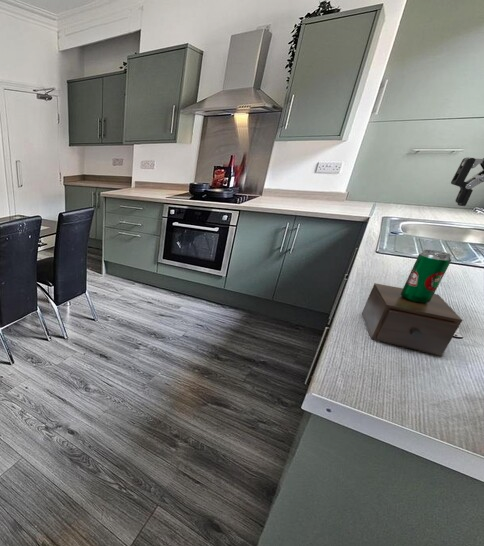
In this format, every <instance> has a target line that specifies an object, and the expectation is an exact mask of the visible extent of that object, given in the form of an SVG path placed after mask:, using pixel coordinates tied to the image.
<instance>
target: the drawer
mask: <svg viewBox="0 0 484 546" xmlns="http://www.w3.org/2000/svg"><path fill="white" fill-rule="evenodd" d="M457 327H458V324H457V323H454V322H449V321H448V320H443V319H438V318H433V317H429V316H424V315H419V314H414V313H409V312H404V311H400V310H395V309H389V310H388V312H387V314H386V316H385V318H384V320H383V322H382V325H381V327H380V329H379V331H378V333H377V335H376V338H377V339H379V340H383V341H387V342H391V343H395V344H399V345H403V346H407V347H411V348H415V349H419V350H423V351H427V352H431V353H435V354H439V355H442V353H443V351H444V350H445V351H446V349H447V348H446V346H447V344H448V343H449V341H450V339H451V338H452V339H453V337H454V336H453V334H454V332H455V331H456V332H457V330H458V329H457ZM458 328H459V327H458ZM456 329H457V330H456ZM456 332H455V333H456ZM454 335H455V334H454ZM452 336H453V337H452ZM452 339H451V340H452ZM450 342H451V341H450ZM449 344H450V343H449ZM449 344H448V345H449ZM447 347H448V346H447ZM445 348H446V349H445ZM445 351H444V352H445ZM443 354H444V353H443ZM442 356H443V355H442Z"/></svg>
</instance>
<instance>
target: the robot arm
mask: <svg viewBox="0 0 484 546" xmlns="http://www.w3.org/2000/svg"><path fill="white" fill-rule="evenodd" d="M478 165H480V167H481V169H482V170H480V171H479V172H477V173H476V174H473V176H472V177H470V178H469V179H467V177H468V175H469V173H470V171H471V170H472V169H474V168H476V167H477V166H478ZM466 179H467V180H466ZM482 183H484V157H483V158H476V157H469V156H468V157H467V156H466V157H464V158H463V159H462V160H461V162H460V164H459V166H458V168H457V170H456V172H455V173H454V175H453V177H452V179H451V181H450V184H451V185H453V186H455V187H458V188H459V191H458V193H457V196H456V198H455V203H457V206H459V207H465V206H466V205H468V202H469V200H470V198H471V195H472V193H473V191H474V189H473V188H476V187H477V186H478V185H480V184H482Z"/></svg>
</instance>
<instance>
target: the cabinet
mask: <svg viewBox="0 0 484 546" xmlns="http://www.w3.org/2000/svg"><path fill="white" fill-rule="evenodd" d="M402 289H403V287H397V286H392V285H386V284H382V283H376V282H375V283H374V284H373V286H372V288H371V291H370V293H369V295H368V298H367V300H366V302H365V305H364V307H363V309H362V311H361V316H362V319H363V323H364V324H365V327H366V329H367V332H368V335H369V337H370V339H371V340H374V341H378V342H382V343H387V344H388V345H389V344H390V345H394V346H398V347H402V348H406V349H410V350H414V351H418V352H422V353H427V354H431V355H434V356H438V357H443V355H444V353H445V351H446V349H448V346H449V344H450V342H452V340H453V338H454V335H455V333H456V332H457V331H458V329H459V327H460V325H461V323H462V322H463V319H462V318H461V317H460V315H458V314H457V312H455V310H453V308H452V307H451V306H450V305H449V304H448V303H447V302H446V301H445V300H444V299H443V298H442V296H440V295H439V294H436V293H434V295H433V297H432V299H431V301H430V302H428V303H416V302H412V301H409V300H406V299H404V298H403V297H402V296H401V292H402ZM389 309H395V310H400V311H404V312H409V313H414V314H419V315H424V316H429V317H433V318H438V319H443V320H448V321H449V322H454V323H457V324H458V327H457V329H456V331H455V332H454V334H453V336H452V338H451V339H450V341H449V343H448V344H447V346H446V348H445V350H444V351H443V353H442V355H439V354H435V353H431V352H427V351H423V350H419V349H415V348H411V347H407V346H403V345H399V344H395V343H391V342H387V341H383V340H379V339H377V338H376V335H377V333H378V331H379V329H380V327H381V325H382V322H383V320H384V318H385V316H386V314H387V312H388V310H389Z"/></svg>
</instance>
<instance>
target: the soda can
mask: <svg viewBox="0 0 484 546" xmlns="http://www.w3.org/2000/svg"><path fill="white" fill-rule="evenodd" d="M451 262H452V254H451V253H449V252H446V251H442V250H441V251H440V250H436V249H423V250H422V252H420V253H419V254H418V256H417V258H416V260H415V262H414V264H413V267H412V269H411V270H410V273H409V274H408V277H407V279H406V281H405V283H404V285H403V287H402V288H403V289H402V292H401V296H402V297H403V298H404V299H406V300H409V301H412V302H416V303H428V302H430V301H431V299H432V297H433V295H434V294H436V291H437V289H438V287H439V285H440V283H441V281H442V280H443V277H444V275H445V274H446V272H447V270H448V268H449V266H450V265H451Z"/></svg>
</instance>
